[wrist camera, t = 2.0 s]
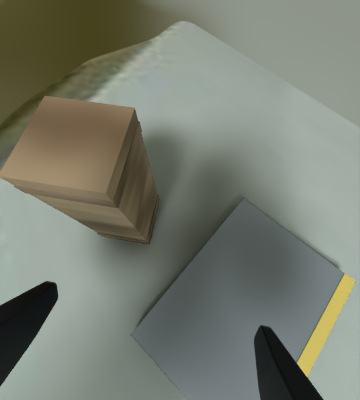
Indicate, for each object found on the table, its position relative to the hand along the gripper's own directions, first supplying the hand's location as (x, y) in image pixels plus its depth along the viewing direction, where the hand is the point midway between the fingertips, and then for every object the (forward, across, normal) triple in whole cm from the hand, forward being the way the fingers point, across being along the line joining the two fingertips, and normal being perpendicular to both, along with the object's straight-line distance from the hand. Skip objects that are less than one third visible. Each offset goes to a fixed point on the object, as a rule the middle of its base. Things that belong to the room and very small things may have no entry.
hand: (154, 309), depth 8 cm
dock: (+8, -7, +8) cm, 13 cm away
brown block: (+13, +5, +3) cm, 14 cm away
